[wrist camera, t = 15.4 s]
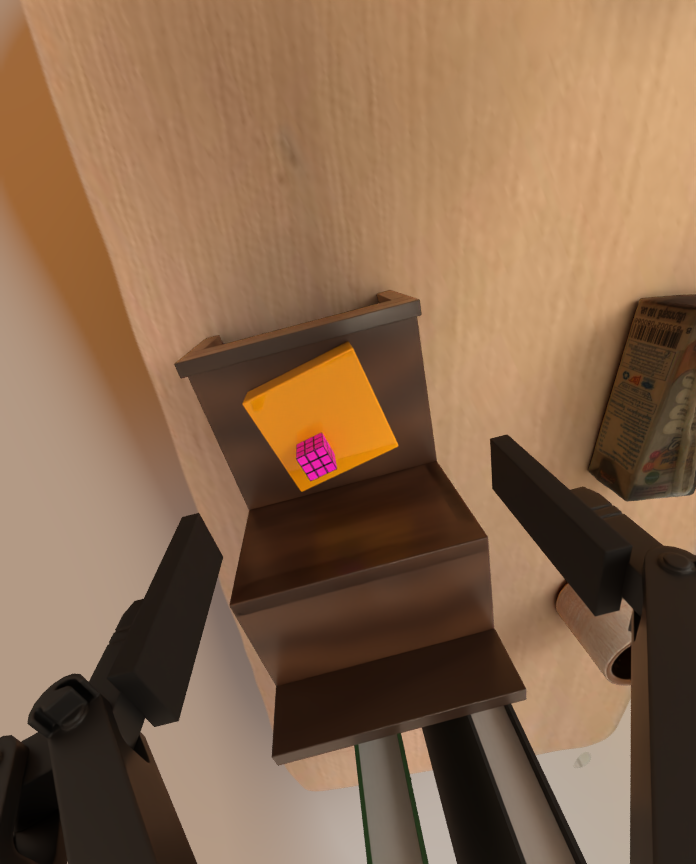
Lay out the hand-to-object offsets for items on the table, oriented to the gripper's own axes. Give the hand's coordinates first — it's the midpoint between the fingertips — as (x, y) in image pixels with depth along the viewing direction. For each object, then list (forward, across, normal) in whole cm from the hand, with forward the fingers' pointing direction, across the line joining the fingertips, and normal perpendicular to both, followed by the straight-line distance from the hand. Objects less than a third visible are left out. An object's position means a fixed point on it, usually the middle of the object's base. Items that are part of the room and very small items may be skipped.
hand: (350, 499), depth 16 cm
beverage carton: (+19, +31, -10) cm, 38 cm away
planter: (+18, +28, -40) cm, 52 cm away
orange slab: (+12, -1, 0) cm, 12 cm away
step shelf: (+18, -1, -6) cm, 19 cm away
